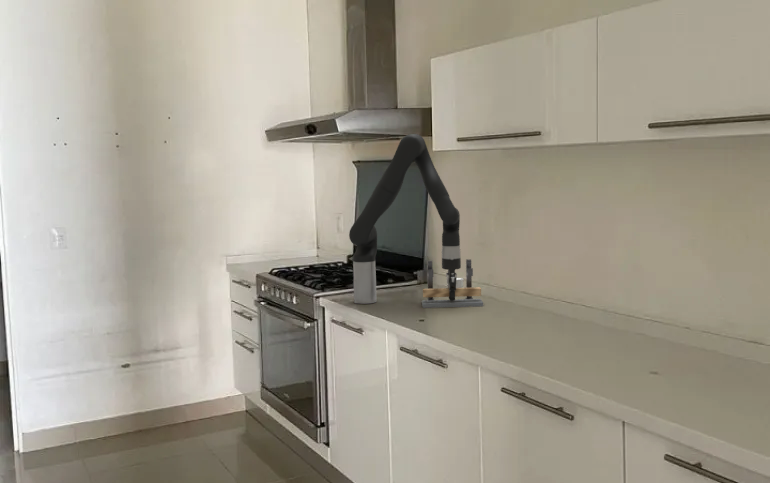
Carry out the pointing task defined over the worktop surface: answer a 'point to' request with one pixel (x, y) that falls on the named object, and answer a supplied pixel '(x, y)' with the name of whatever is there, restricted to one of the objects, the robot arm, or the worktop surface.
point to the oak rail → (458, 292)
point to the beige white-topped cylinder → (459, 282)
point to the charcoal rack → (468, 276)
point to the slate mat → (451, 303)
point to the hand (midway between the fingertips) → (451, 299)
